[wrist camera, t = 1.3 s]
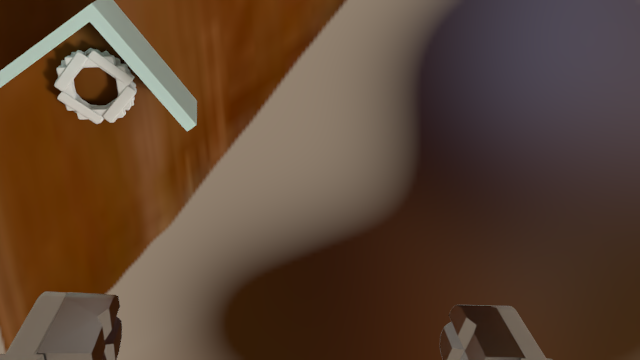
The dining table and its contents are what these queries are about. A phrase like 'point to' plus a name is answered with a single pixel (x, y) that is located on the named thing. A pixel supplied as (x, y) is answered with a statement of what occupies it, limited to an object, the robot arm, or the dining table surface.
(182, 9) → the dining table surface
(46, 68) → the dining table surface
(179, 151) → the dining table surface
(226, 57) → the dining table surface
